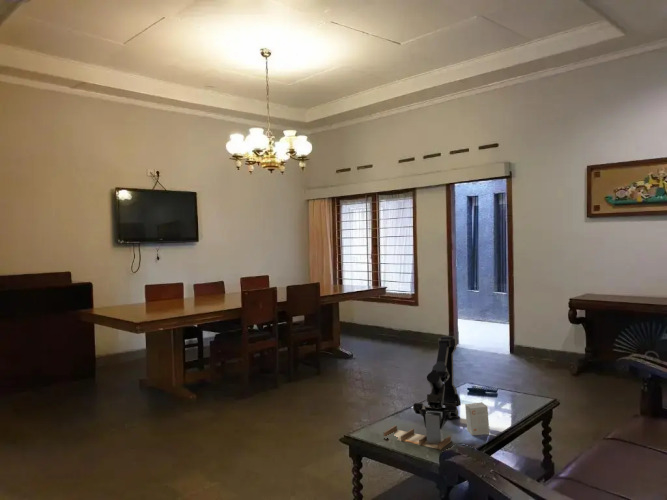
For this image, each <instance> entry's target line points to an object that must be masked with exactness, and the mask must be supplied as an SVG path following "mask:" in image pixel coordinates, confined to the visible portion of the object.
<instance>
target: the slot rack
mask: <svg viewBox="0 0 667 500" xmlns="http://www.w3.org/2000/svg"><path fill="white" fill-rule="evenodd" d="M393 432H394V433H395V434H394V436H396V437H398V439H397V440H396V441H401V442H405V443H410V444H415V445H419V446H424V447H427V448H432V449H436V450H442V449H443V448H445V447H446V446H447V445H448V444H450V443H451V442H452V439H451V438H452V437H451V435H448V436H447V437H445V438H443V441H441V442H440V443H439V444H438V445H433V444H427V435H426V434H425V435H424V434H419V433H415V429H414V428H411V429H409V430H408V431H406V430H405V431H404V430H402V429H401V430H400V429H398V426H397V424H395V425H393V426H391V427H390V428H389V429H387V430H385V431H384V432H383V437H384V436H387V435H389V434H391V433H393Z"/></svg>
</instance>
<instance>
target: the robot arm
mask: <svg viewBox="0 0 667 500" xmlns="http://www.w3.org/2000/svg"><path fill="white" fill-rule="evenodd" d="M437 342H438V344H437V345H438V351H437V357H436V363H435V364H433V366H432V370H431V371H430V372H429V373H428V374H427V375H426V380H427V382H428V385H429V387H430V389H431V390H430V393H428V394H426V402H427V406H426V405H424V403H423V402H414V403H413V405H412V409H413V411H414V413H415V414H416V415H421V416H422V417H423V418H422V419H423V421H424V427H425V429H426V420H425V414H426V413H427V412H439V413H441V417H442V419H441V424H440V429H442V430H443V428H444V426H445V425H446V423H447V422H448V420H457V419H461V417H460V416H459V410H458V407H460V406H461V405H462V404H461V398H460V396H459V393H458V390H457V388H456V386H455V385H454V383H455V381H454V353H455V352H456V350H457V346H458V338H456V337H455V336H454V335H441V337H440V338H438V339H437ZM443 406H444V407H443Z"/></svg>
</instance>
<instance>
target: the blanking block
mask: <svg viewBox="0 0 667 500" xmlns="http://www.w3.org/2000/svg"><path fill="white" fill-rule="evenodd" d="M441 419H442V412H433V411H427V413H426V414H425V420H426V428H425V431H426V434H425V435H427V444H433V445H438V444H439V443H440V442H441V441H443V439H444V434H443V428H442V429H440V424H441Z"/></svg>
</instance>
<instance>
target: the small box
mask: <svg viewBox="0 0 667 500" xmlns="http://www.w3.org/2000/svg"><path fill="white" fill-rule="evenodd" d="M488 409H489V407H488V405H486V404H485V403H483V402H473V403H465V416H466V417H465V418H466V419H465V420H466V430H467V432H468V433H469V434H470V435H471V436H481V435H487V437H488V436H489V437H490V425H489V424H490V423H489V421H490V420H489V410H488Z"/></svg>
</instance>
